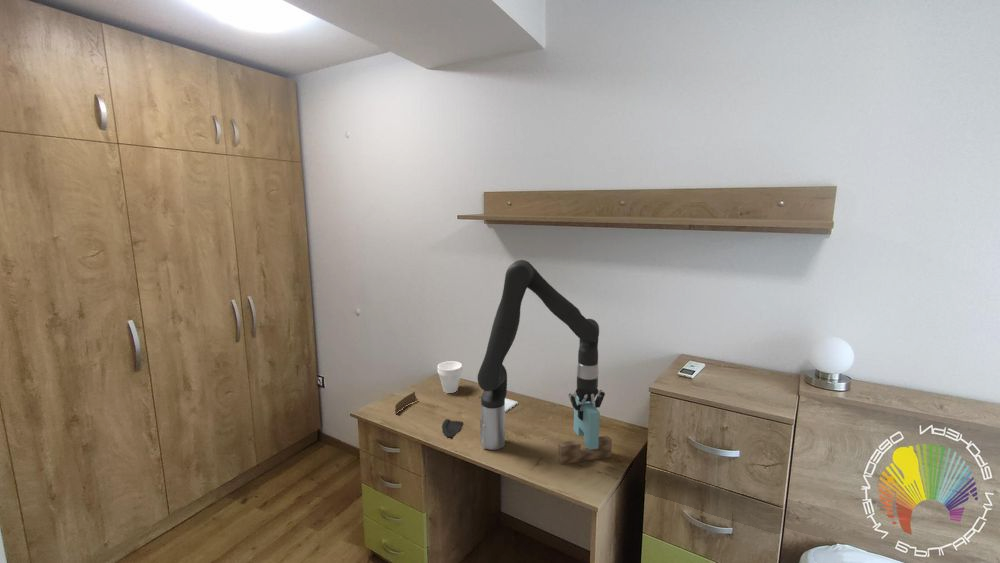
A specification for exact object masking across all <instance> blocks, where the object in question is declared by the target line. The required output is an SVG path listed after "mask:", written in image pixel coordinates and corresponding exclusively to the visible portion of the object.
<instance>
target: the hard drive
mask: <svg viewBox="0 0 1000 563" xmlns="http://www.w3.org/2000/svg"><path fill="white" fill-rule="evenodd" d="M518 402H519V401H516V400H513V399H511V398H510V399H509V398H507V397H505V412H506V411H507V412H509V411H510V410H511V409H513V408H514V407H516V406H517V405H518V404H519V403H518ZM516 404H517V405H516ZM515 405H516V406H515ZM512 407H513V408H512ZM509 409H510V410H509ZM508 410H509V411H508ZM507 412H506V413H507Z"/></svg>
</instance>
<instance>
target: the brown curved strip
mask: <svg viewBox="0 0 1000 563" xmlns="http://www.w3.org/2000/svg"><path fill="white" fill-rule="evenodd" d="M415 392H416V391H413V392H412V393H410V394H408V395H406V396H405V397H403V398H402V399H401V400H399V401H398V403H396V404H395V405H394V406H395V407H394V408H395V409H394V411H395V414H396V413H397V412H398V411H399V410H401V409H402V408H403V407H405V406H406V405H408V404H410V403H412V402H415V401H417V400H418V401H419V399H418V398H417V396H416V393H415ZM397 414H398V413H397Z"/></svg>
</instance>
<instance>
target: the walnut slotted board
mask: <svg viewBox="0 0 1000 563" xmlns="http://www.w3.org/2000/svg"><path fill="white" fill-rule="evenodd" d="M612 446H613V440H612V438H611V436H609V435H602V436H599V442H598V449H591V450H589V449H588V448H587V447H586V448H582V446H581V442H580V441H579V440H578V439H574V440H567V441H559V442H558V450H557V452H558V453H557V456H558V459H557V460H558V462H559V463H560V465H566V464H571V463H578V462H586V461H592V460H597V459H603V458H610V457H612Z"/></svg>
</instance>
